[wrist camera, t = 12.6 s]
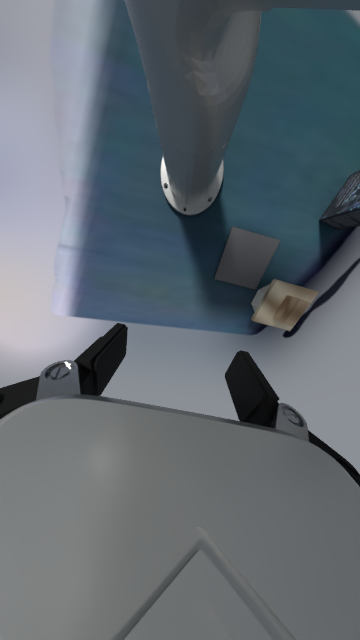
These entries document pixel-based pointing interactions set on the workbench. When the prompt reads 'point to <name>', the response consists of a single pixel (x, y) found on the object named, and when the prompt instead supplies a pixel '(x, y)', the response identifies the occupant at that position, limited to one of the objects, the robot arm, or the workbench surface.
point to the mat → (245, 258)
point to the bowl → (259, 297)
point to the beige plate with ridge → (283, 305)
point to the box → (345, 205)
